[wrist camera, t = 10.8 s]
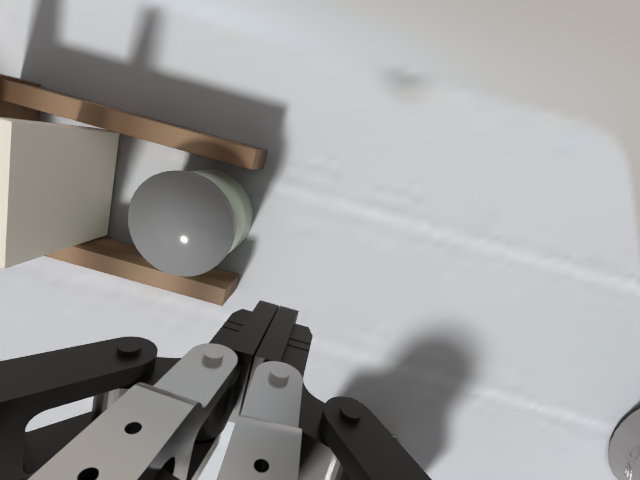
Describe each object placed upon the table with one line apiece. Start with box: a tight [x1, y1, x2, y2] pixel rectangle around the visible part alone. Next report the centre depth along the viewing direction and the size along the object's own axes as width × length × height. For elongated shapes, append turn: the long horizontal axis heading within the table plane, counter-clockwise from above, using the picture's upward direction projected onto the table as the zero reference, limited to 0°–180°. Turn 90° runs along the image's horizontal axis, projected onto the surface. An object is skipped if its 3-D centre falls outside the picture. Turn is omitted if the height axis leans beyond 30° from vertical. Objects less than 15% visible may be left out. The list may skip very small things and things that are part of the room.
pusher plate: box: [0, 117, 120, 268], centre depth 21 cm, size 7×7×8 cm
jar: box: [128, 170, 253, 277], centre depth 23 cm, size 6×6×5 cm
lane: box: [0, 74, 267, 306], centre depth 22 cm, size 18×11×6 cm, turn 75°
